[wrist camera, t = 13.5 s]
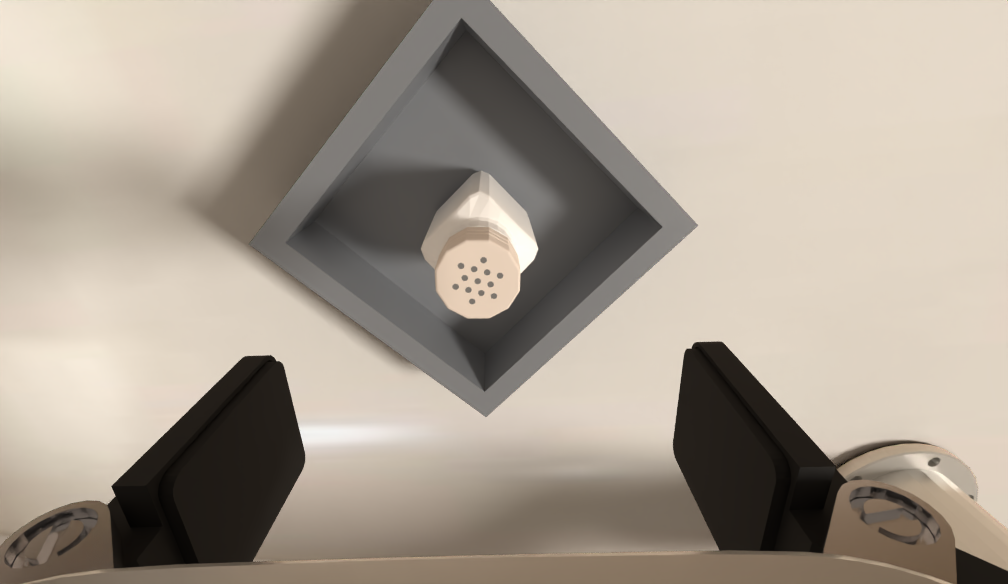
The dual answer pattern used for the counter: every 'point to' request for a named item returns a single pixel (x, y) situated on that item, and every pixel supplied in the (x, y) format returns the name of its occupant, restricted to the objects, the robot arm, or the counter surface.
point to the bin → (441, 172)
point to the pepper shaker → (479, 248)
